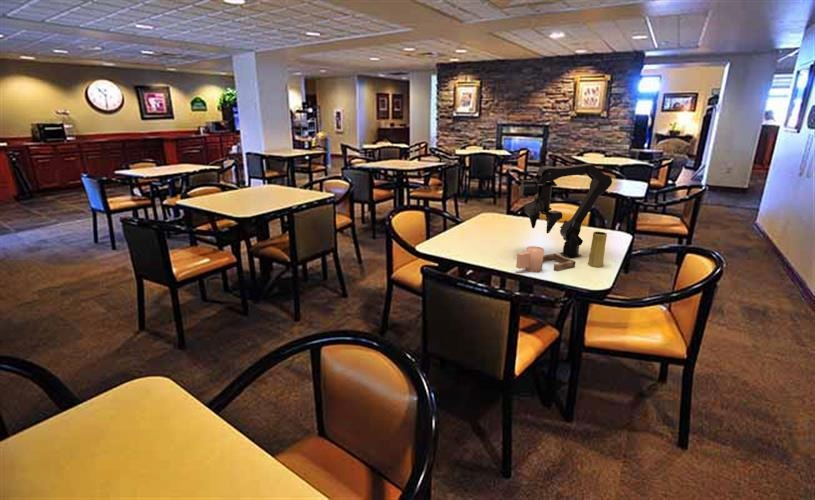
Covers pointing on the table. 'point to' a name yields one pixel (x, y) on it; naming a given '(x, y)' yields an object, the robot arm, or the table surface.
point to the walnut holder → (563, 264)
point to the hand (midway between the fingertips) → (540, 230)
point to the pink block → (531, 259)
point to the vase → (597, 249)
